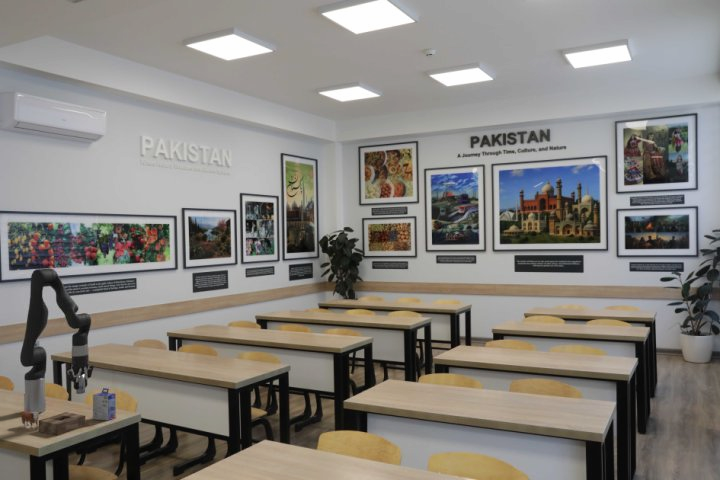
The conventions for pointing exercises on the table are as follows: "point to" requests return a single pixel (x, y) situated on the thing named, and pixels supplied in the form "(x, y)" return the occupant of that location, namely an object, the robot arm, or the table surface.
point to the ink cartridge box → (104, 405)
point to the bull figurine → (30, 418)
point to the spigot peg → (81, 384)
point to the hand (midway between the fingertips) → (80, 388)
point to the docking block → (62, 423)
